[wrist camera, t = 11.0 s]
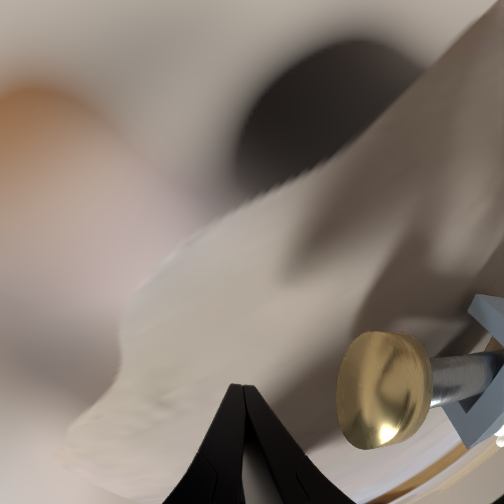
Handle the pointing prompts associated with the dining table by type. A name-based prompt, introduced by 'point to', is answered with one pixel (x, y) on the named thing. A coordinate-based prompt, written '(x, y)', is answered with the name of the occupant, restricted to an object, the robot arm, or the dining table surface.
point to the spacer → (499, 391)
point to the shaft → (402, 386)
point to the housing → (493, 345)
